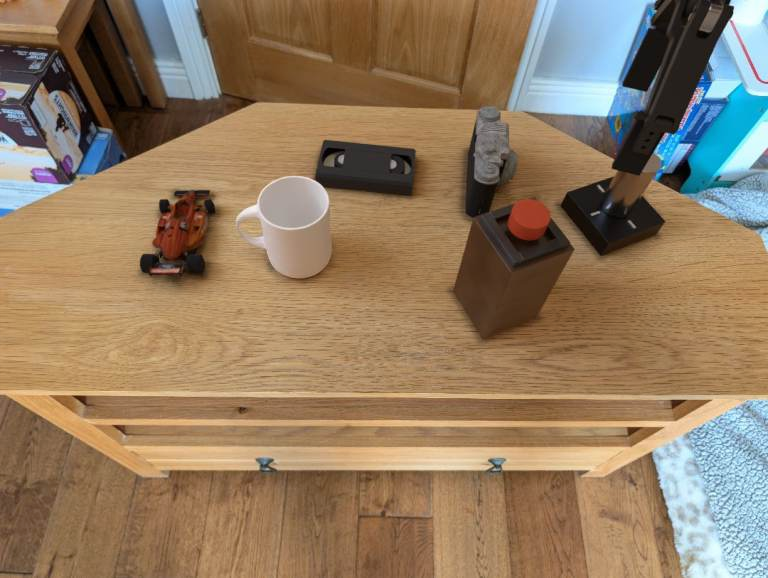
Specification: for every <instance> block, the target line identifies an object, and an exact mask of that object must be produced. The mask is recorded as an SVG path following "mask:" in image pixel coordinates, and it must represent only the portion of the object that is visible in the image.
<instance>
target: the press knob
mask: <svg viewBox="0 0 768 578" xmlns="http://www.w3.org/2000/svg"><path fill="white" fill-rule="evenodd" d="M515 203H516V204H515ZM515 203H514V204H515V205H514V206H513V208H512V211H511V214H510V217H509V219H508V227H509V229H510V231H511V232H512V233H513V234H514V235H515V236H516V237H518V238H520V239H523V240H536V239H539V238H540V237H542V236H543V234H544V233H545V230H546V228H547V226H548V224H549V222H550V219H551V218H552V215H551V211H550V210H549V208H548V207H547V205H545V204H544V203H543V202H540V201H539V200H538V201H536V200H532V199H529V198H524V199H521V200H518V201H517V202H515Z"/></svg>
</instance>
